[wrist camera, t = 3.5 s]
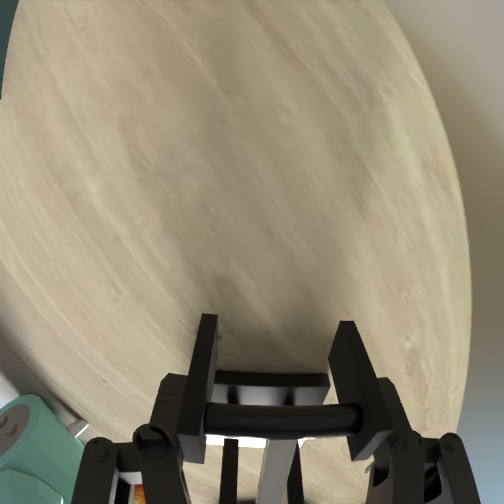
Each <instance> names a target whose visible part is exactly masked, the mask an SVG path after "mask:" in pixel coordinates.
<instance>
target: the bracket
mask: <svg viewBox="0 0 504 504" xmlns="http://www.w3.org/2000/svg"><path fill="white" fill-rule="evenodd" d="M330 386H331V385H330V381H329V377H328V374H264V373H244V372H230V371H218V370H215V377H214V385H213V393H212V401H211V402H216V403H228V404H243V405H267V406H306V405H322V404H323V402H324V400H325V398H326V395H327V393H328V391H329V389H330ZM304 441H305V439H303V440H297V444H296V448H295V452H294V456H293V460H292V464H291V468H290V471H289V475H288V479H287V482H286V486H285V489H284V493H283V496H282V500H281V503H280V504H304V495H303V483H302V473H301V462H300V452H299V447H301V446H302V445H303V443H304ZM265 442H266V440H247V439H230V438H217V437H207V441H206V444H214V445H223V456H222V470H221V484H220V498H219V504H236V502H237V476H238V450H239V446H242V447H265Z"/></svg>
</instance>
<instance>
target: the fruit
mask: <svg viewBox="0 0 504 504" xmlns="http://www.w3.org/2000/svg"><path fill="white" fill-rule="evenodd" d="M132 504H146V503H145V497H144V491H143V485H142V484H135V486H134V493H133V501H132Z"/></svg>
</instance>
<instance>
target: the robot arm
mask: <svg viewBox="0 0 504 504" xmlns="http://www.w3.org/2000/svg"><path fill="white" fill-rule="evenodd" d="M217 355H218V315H214V314H203V313H202V317H201V321H200V325H199V329H198V334H197V338H196V342H195V346H194V351H193V355H192V360H191V364H190V369H189V373H188V376H187V375H179V374H172V373H168V374H167V375H166V376H165V378H164V379H163V380H162V381H161V383H160V387H159V390H158V394H157V397H156V401H155V404H154V408H153V411H152V415H151V419H150V422H149V423H148V424H144V425H142V426H140V427H138V428H137V429H136V431H135V432H134V433H133V439H132V440H133V442H128V443H113V442H112V441H111V440H109V439H106V438H104V437H96V438H93V439H91V440H90V441H88V442H87V444H86V446H85V447H84V451H83V455H82V458H81V462H80V466H79V470H78V474H77V478H76V482H75V486H74V491H73V495H72V500H71V504H132V501H133V493H134V486H135V484H142V485H143V491H144V497H145V503H146V504H191V500H190V497H189V493H188V489H187V485H186V480H185V476H184V472H183V469H182V467H183V461H184V460H185V462H191V463H198V464H204V459H205V450H206V441H207V436H205V434H204V417H205V409H206V404H207V402H211V401H212V393H213V385H214V377H215V370H216V362H217ZM328 361H329V365H330V369H331V373H332V377H333V381H334V385H335V389H336V394H337V398H338V402H339V404H345V403H357V404H359V406H360V408H361V410H362V427H361V430H360V432H359V433H358V434H356V435H352V436H346V437H347V442H348V446H349V451H350V456H351V461H352V462H353V461H359V460H365V459H368V458H369V457H370V456H371V455H372V454H373V455H374V459H375V460H374V461H373V462H372V463H371V464H370V465H369V466H368V467H367V468H366V469H365V472H364V473H367V472H368V471H370V478H369V486H368V493H367V499H366V504H481V503H480V499H479V495H478V491H477V487H476V484H475V480H474V477H473V473H472V470H471V467H470V463H469V460H468V457H467V454H466V451H465V448H464V445H463V443H462V440H461V438H460V437H459V436H458V435H457V434H454V433H446V434H444V435H443V436H442V437H441V438H440V439H436V438H424V437H422V436H421V435H420V434H419V433H418V432H416V431H413V430H412V428H411V426H410V424H409V421H408V418H407V416H406V413H405V411H404V408H403V405H402V403H401V402H400V401H401V400H400V398H399V395H398V393H397V390H396V388H395V386H394V384H393V383H392V382H391V381H390V380H389V379H388V378H387V377H383V378H377V377H376V374H375V372H374V369H373V367H372V364H371V362H370V359H369V357H368V354H367V352H366V349H365V347H364V344H363V342H362V339H361V337H360V334H359V332H358V330H357V327H356V325H355V323H354V321H340V323H339V326H338V329H337V332H336V335H335V338H334V341H333V344H332V347H331V350H330V353H329V355H328Z"/></svg>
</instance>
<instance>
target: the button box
mask: <svg viewBox="0 0 504 504" xmlns="http://www.w3.org/2000/svg"><path fill="white" fill-rule="evenodd" d="M17 3H18V0H0V99H1V90H2V79H3V70H4V63H5V56H6V50H7V45H8V40H9V35H10V30H11V26H12V22H13V18H14V14H15V10H16V7H17Z"/></svg>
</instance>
